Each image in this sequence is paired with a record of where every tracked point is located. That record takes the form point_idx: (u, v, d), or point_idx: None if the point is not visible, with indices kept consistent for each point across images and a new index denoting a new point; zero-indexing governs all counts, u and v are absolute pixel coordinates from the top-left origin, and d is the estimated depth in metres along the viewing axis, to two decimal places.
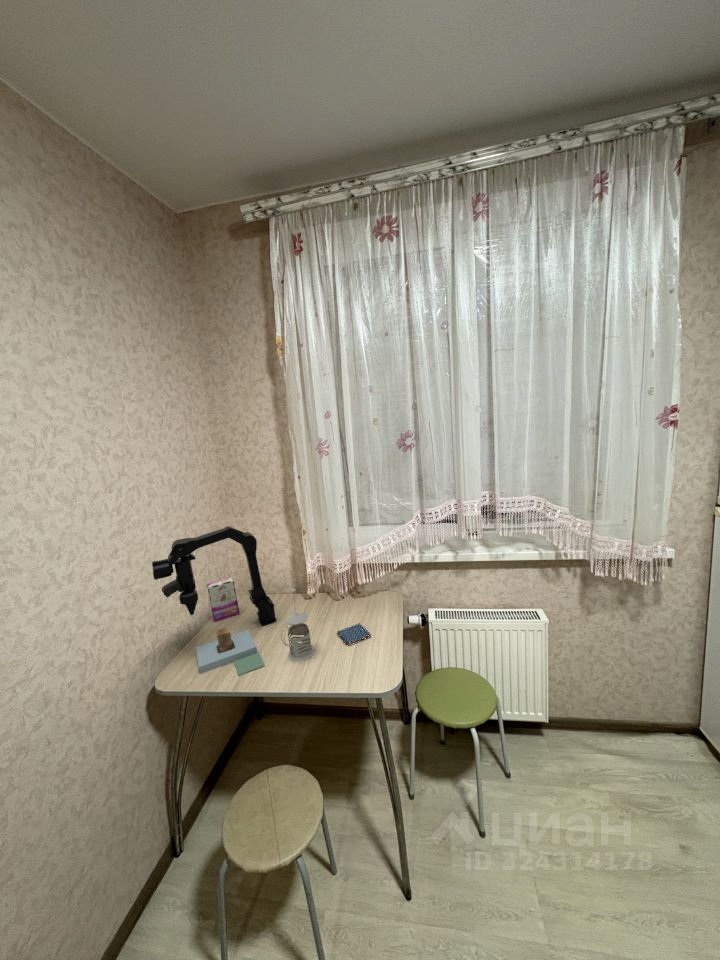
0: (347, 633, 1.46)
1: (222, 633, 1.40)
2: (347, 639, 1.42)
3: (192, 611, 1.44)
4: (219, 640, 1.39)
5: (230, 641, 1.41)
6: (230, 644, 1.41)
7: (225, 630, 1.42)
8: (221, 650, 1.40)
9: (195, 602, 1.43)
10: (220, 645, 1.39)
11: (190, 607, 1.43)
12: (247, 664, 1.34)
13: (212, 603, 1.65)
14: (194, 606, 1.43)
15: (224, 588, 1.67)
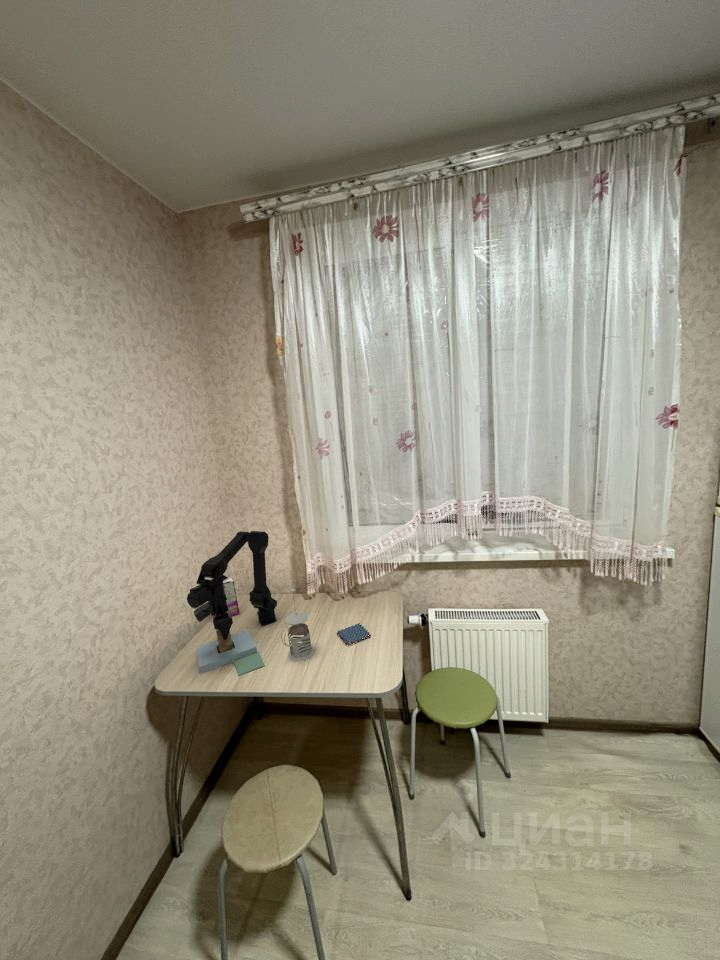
0: (347, 633, 1.46)
1: None
2: (347, 639, 1.42)
3: (226, 636, 1.37)
4: (219, 640, 1.39)
5: (230, 641, 1.41)
6: (230, 644, 1.41)
7: None
8: (221, 650, 1.40)
9: (229, 627, 1.36)
10: (220, 645, 1.39)
11: (224, 632, 1.36)
12: (247, 664, 1.34)
13: None
14: (228, 631, 1.36)
15: (224, 588, 1.67)
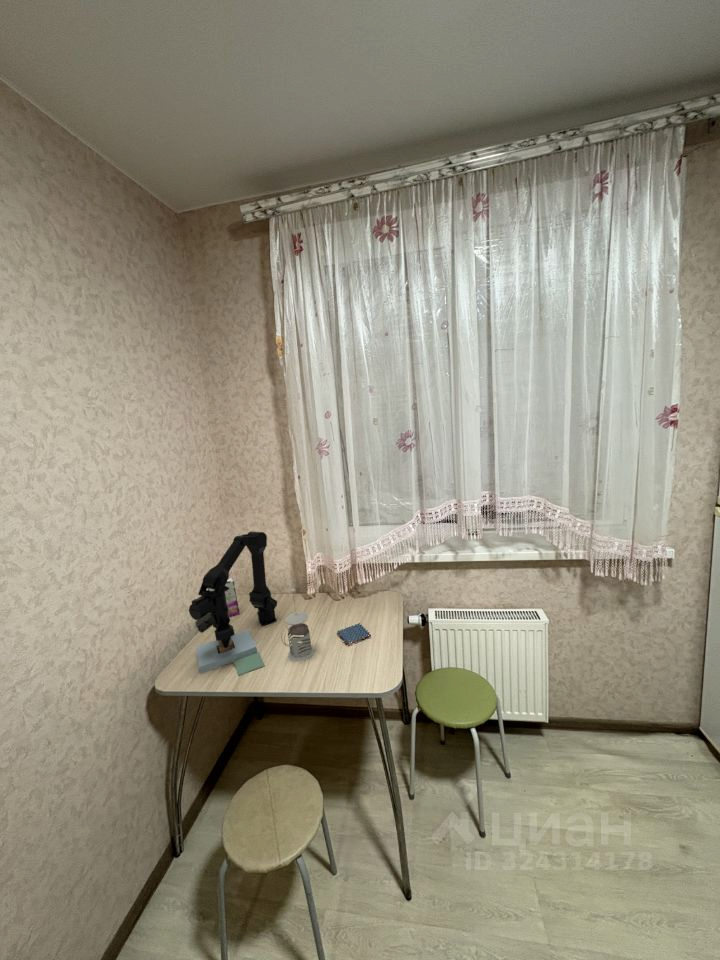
0: (347, 633, 1.46)
1: None
2: (347, 639, 1.42)
3: (226, 644, 1.39)
4: (219, 640, 1.39)
5: (230, 641, 1.41)
6: (230, 644, 1.41)
7: None
8: (221, 650, 1.40)
9: None
10: (220, 645, 1.39)
11: (224, 640, 1.38)
12: (247, 664, 1.34)
13: None
14: (228, 639, 1.39)
15: None
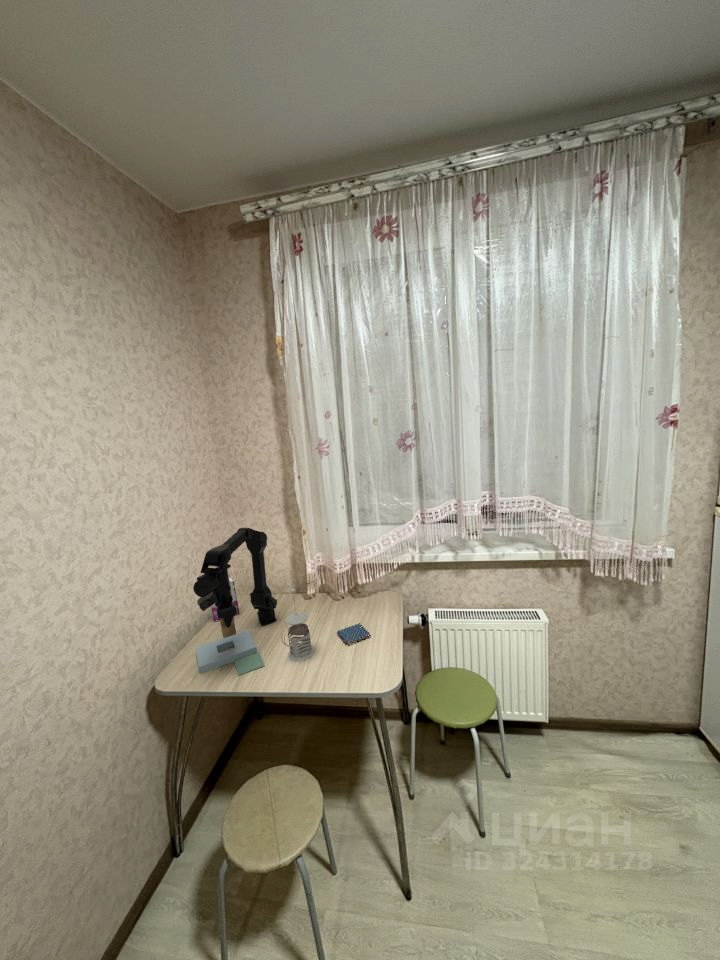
0: (347, 633, 1.46)
1: None
2: (347, 639, 1.42)
3: (229, 623, 1.35)
4: (222, 619, 1.35)
5: (232, 621, 1.36)
6: (232, 624, 1.37)
7: None
8: (223, 630, 1.35)
9: None
10: (222, 625, 1.35)
11: (227, 619, 1.34)
12: (247, 664, 1.34)
13: None
14: (231, 618, 1.35)
15: None
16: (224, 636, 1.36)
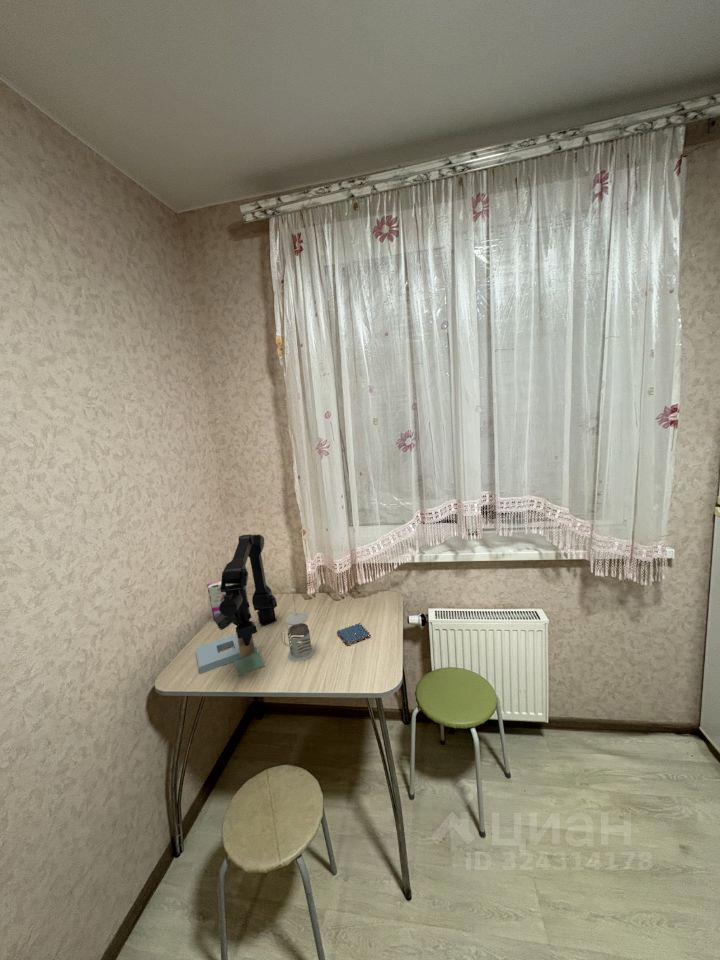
0: (347, 633, 1.46)
1: None
2: (346, 639, 1.42)
3: (247, 642, 1.31)
4: None
5: (251, 639, 1.32)
6: (251, 642, 1.32)
7: None
8: (241, 648, 1.31)
9: None
10: (240, 643, 1.30)
11: (246, 638, 1.30)
12: (247, 664, 1.34)
13: (212, 603, 1.65)
14: (250, 636, 1.30)
15: None
16: (242, 655, 1.31)
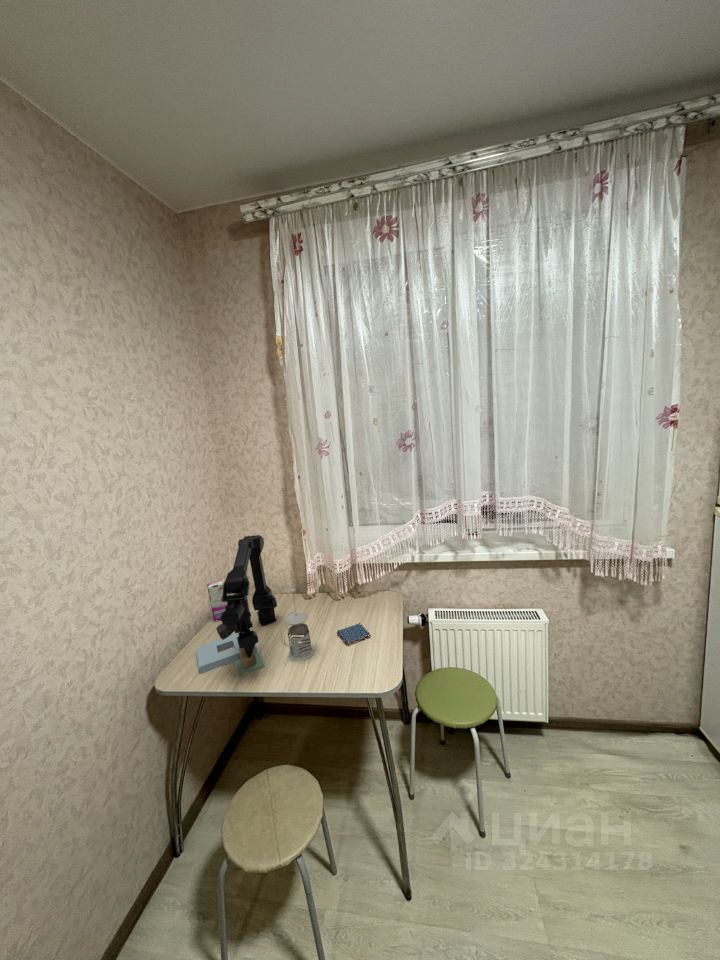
0: (347, 633, 1.46)
1: None
2: (346, 639, 1.42)
3: (250, 654, 1.30)
4: (242, 649, 1.31)
5: (253, 650, 1.33)
6: (253, 654, 1.33)
7: None
8: (243, 660, 1.32)
9: (253, 644, 1.29)
10: (242, 655, 1.31)
11: (248, 649, 1.29)
12: None
13: (212, 603, 1.65)
14: (252, 648, 1.29)
15: None
16: (244, 667, 1.32)
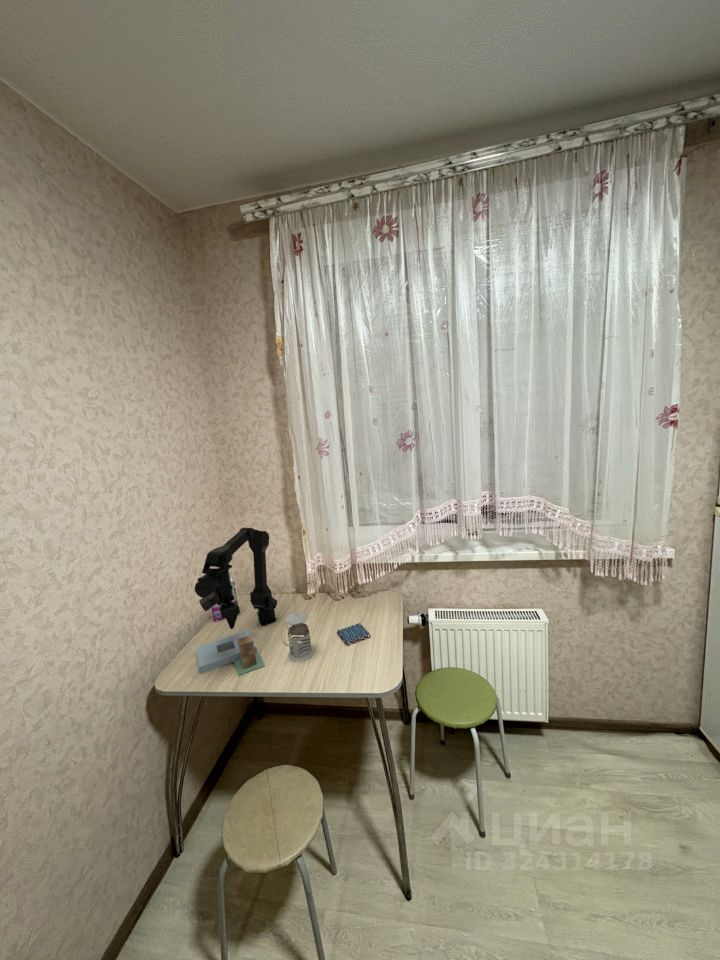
0: (347, 632, 1.46)
1: (244, 642, 1.32)
2: (346, 639, 1.42)
3: (232, 625, 1.36)
4: (242, 649, 1.31)
5: (253, 650, 1.33)
6: (253, 654, 1.33)
7: (247, 638, 1.34)
8: (243, 660, 1.32)
9: (236, 615, 1.35)
10: (242, 655, 1.31)
11: (230, 621, 1.35)
12: None
13: None
14: (234, 620, 1.35)
15: None
16: (244, 667, 1.32)
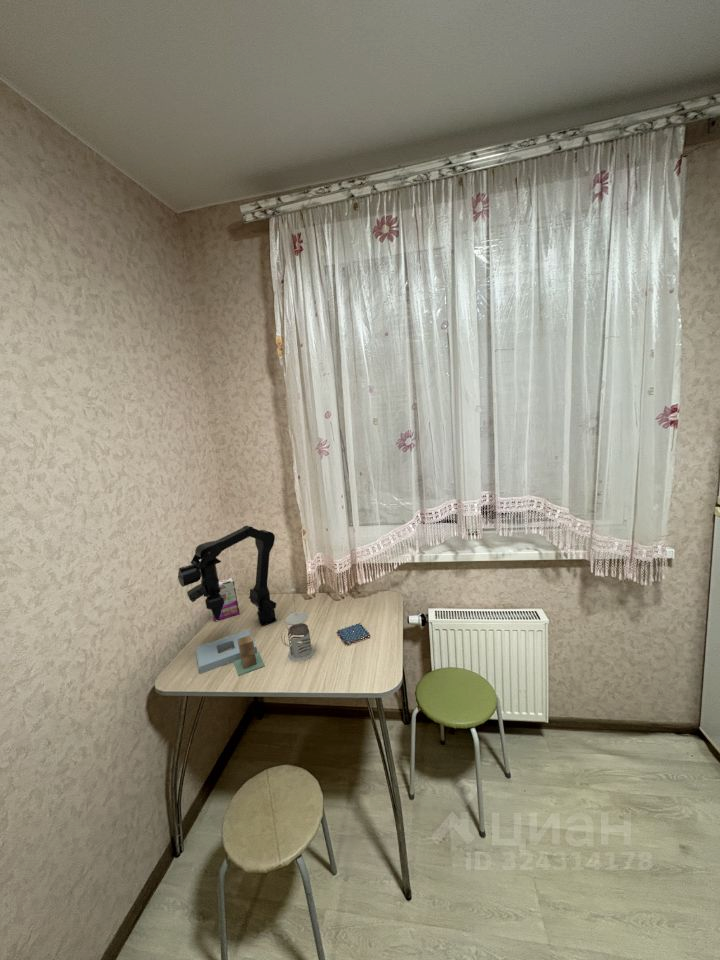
0: (347, 632, 1.46)
1: (244, 642, 1.32)
2: (346, 638, 1.42)
3: (217, 616, 1.43)
4: (242, 649, 1.31)
5: (253, 650, 1.33)
6: (253, 654, 1.33)
7: (247, 638, 1.34)
8: (243, 660, 1.32)
9: (221, 607, 1.42)
10: (242, 655, 1.31)
11: (216, 612, 1.42)
12: None
13: None
14: (220, 611, 1.42)
15: (224, 588, 1.67)
16: (244, 667, 1.32)
